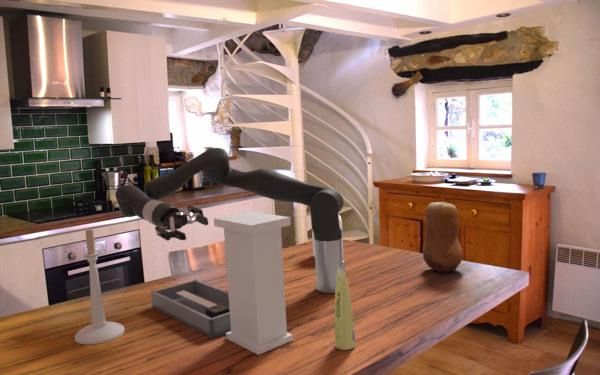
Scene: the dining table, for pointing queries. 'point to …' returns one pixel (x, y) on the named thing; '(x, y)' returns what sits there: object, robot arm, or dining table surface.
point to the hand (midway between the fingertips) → (196, 229)
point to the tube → (343, 314)
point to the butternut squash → (442, 237)
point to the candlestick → (96, 305)
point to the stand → (255, 279)
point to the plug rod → (201, 304)
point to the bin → (192, 318)
